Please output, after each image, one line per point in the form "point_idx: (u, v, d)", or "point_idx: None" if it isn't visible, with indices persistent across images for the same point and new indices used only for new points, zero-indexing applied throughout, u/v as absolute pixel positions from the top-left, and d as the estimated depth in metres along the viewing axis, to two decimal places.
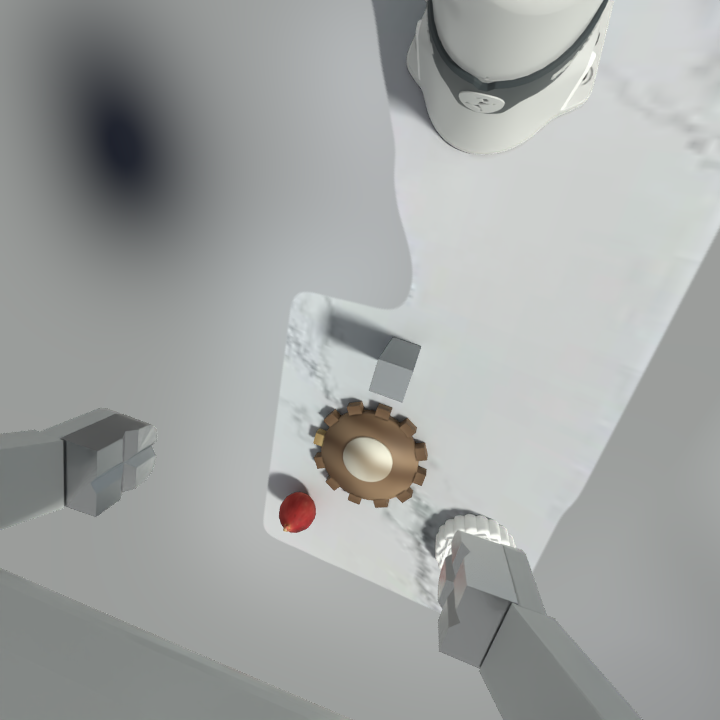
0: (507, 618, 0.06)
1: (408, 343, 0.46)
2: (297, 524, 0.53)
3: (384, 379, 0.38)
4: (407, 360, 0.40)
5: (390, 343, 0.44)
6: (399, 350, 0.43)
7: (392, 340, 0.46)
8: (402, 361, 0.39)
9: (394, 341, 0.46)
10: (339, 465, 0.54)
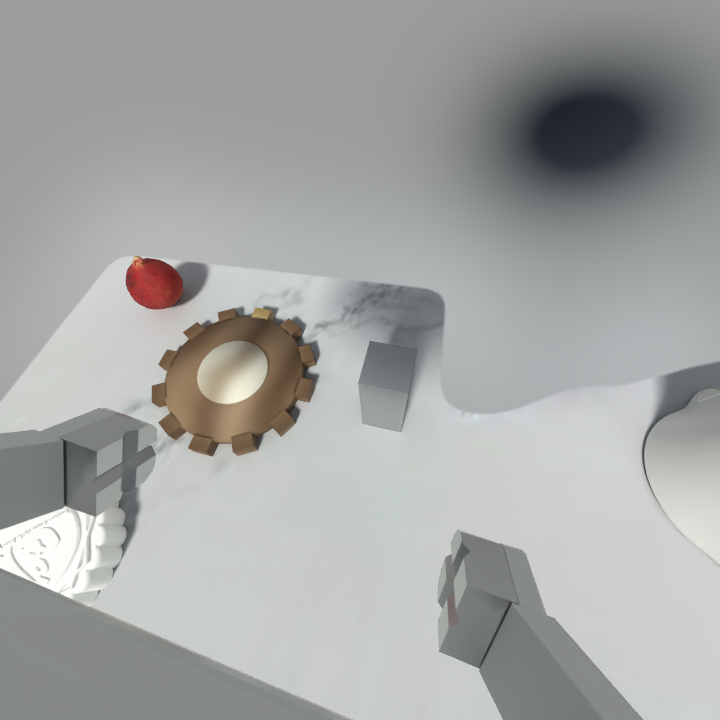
0: (507, 618, 0.06)
1: None
2: (141, 275, 0.38)
3: (390, 358, 0.28)
4: None
5: None
6: None
7: None
8: None
9: None
10: (223, 337, 0.40)
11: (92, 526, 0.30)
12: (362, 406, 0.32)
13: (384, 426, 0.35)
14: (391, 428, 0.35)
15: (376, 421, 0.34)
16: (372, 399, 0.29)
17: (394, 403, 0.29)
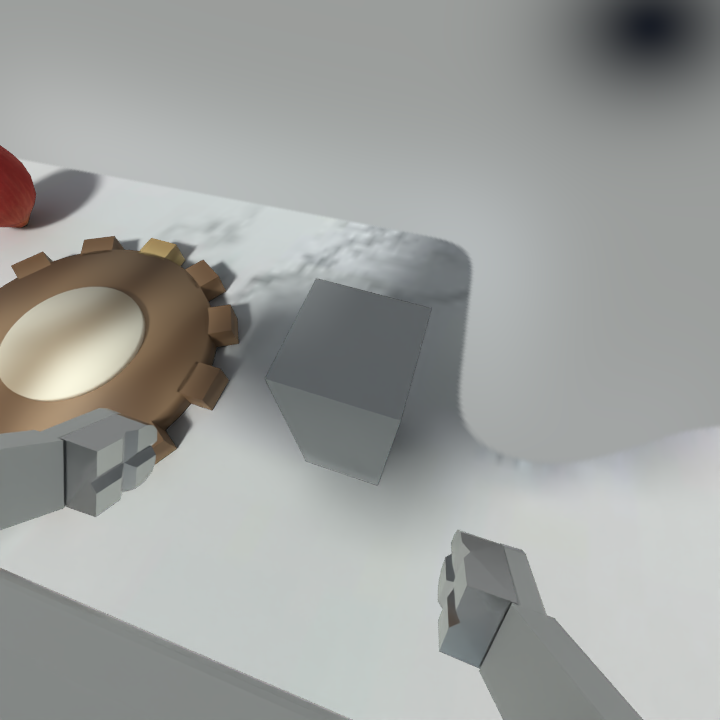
0: (507, 618, 0.06)
1: None
2: None
3: (360, 323, 0.11)
4: None
5: None
6: None
7: None
8: None
9: None
10: (78, 280, 0.22)
11: None
12: (294, 434, 0.14)
13: (346, 472, 0.18)
14: (360, 478, 0.18)
15: (330, 462, 0.17)
16: (311, 422, 0.12)
17: (362, 437, 0.12)
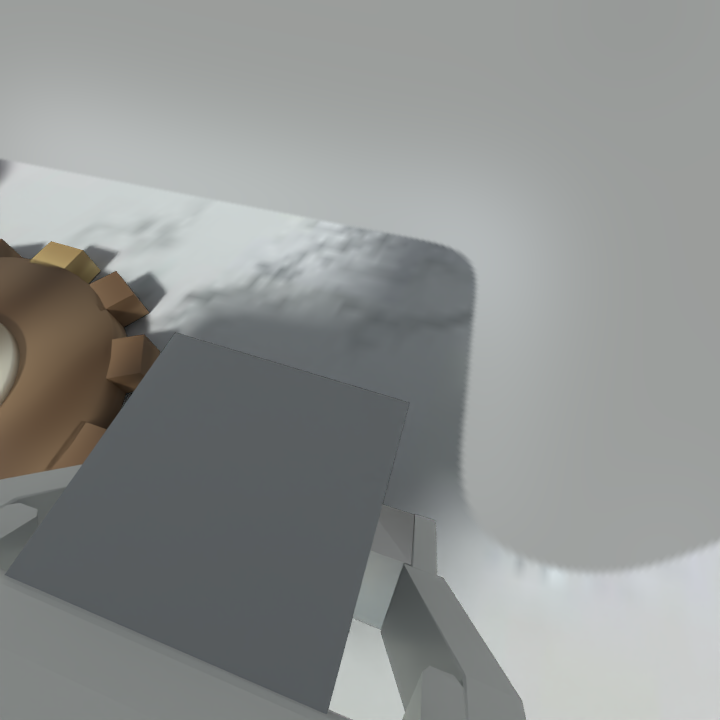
0: (400, 579, 0.07)
1: None
2: None
3: (249, 444, 0.05)
4: None
5: None
6: None
7: None
8: None
9: None
10: None
11: None
12: None
13: None
14: None
15: None
16: None
17: None
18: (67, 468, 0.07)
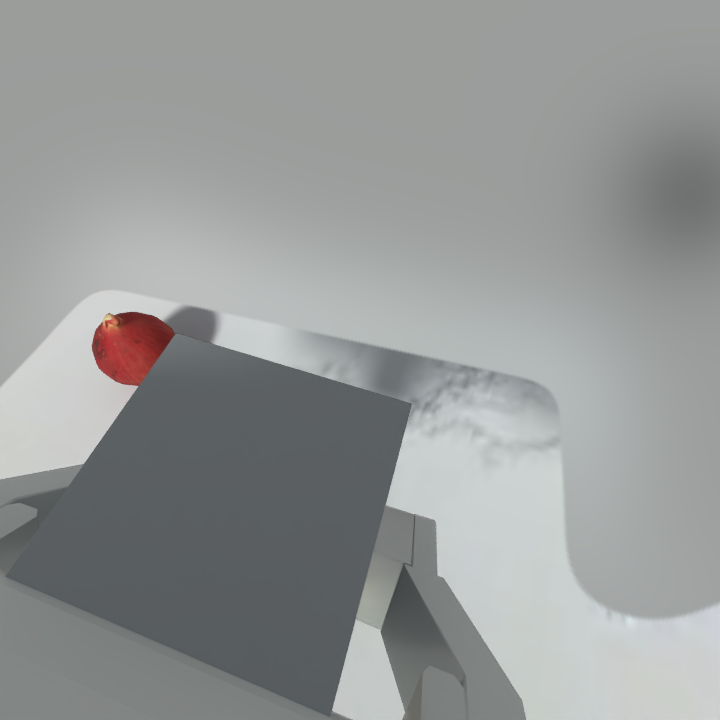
0: (400, 579, 0.07)
1: None
2: (115, 343, 0.25)
3: (250, 446, 0.05)
4: None
5: None
6: None
7: None
8: None
9: None
10: None
11: None
12: None
13: None
14: None
15: None
16: None
17: None
18: (67, 468, 0.07)
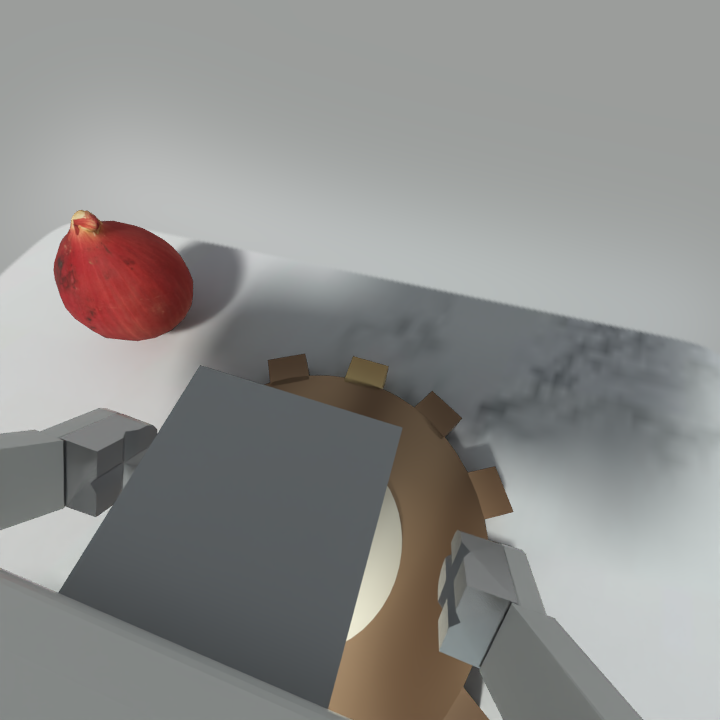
0: (507, 618, 0.06)
1: None
2: (91, 261, 0.15)
3: (266, 464, 0.06)
4: None
5: None
6: None
7: None
8: None
9: None
10: None
11: None
12: None
13: None
14: None
15: None
16: None
17: None
18: None
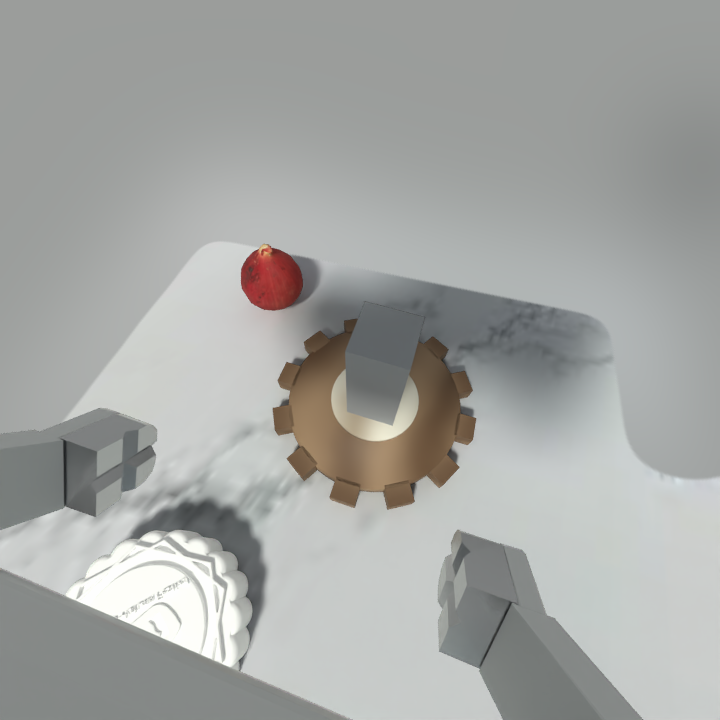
0: (507, 618, 0.06)
1: None
2: (267, 268, 0.31)
3: (389, 325, 0.22)
4: None
5: None
6: None
7: None
8: None
9: None
10: None
11: (222, 605, 0.22)
12: (347, 388, 0.25)
13: (373, 416, 0.28)
14: (382, 420, 0.29)
15: (364, 409, 0.28)
16: (361, 377, 0.23)
17: (389, 384, 0.22)
18: None
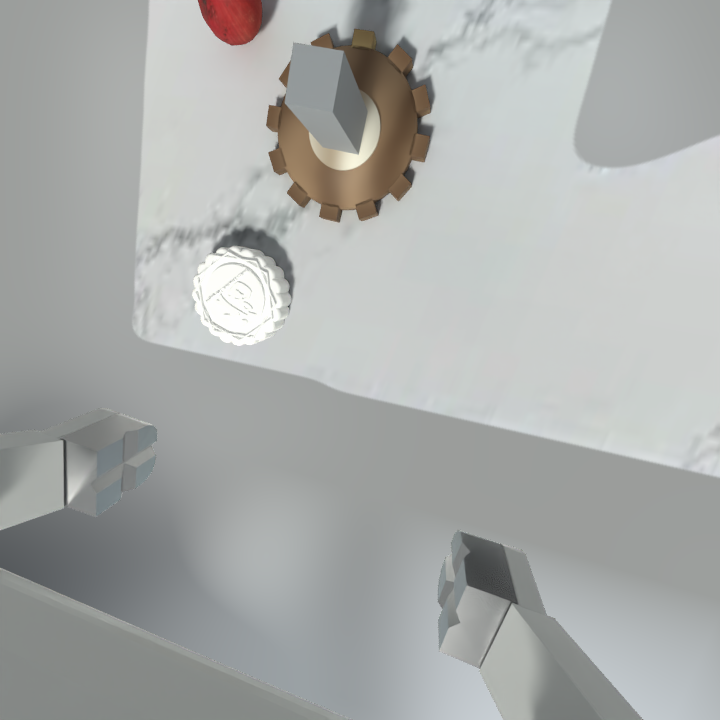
0: (507, 618, 0.06)
1: (361, 134, 0.35)
2: None
3: (314, 67, 0.26)
4: (344, 113, 0.29)
5: (361, 98, 0.32)
6: (354, 109, 0.31)
7: (364, 106, 0.34)
8: (342, 101, 0.28)
9: (363, 108, 0.34)
10: None
11: (269, 280, 0.40)
12: (308, 129, 0.32)
13: (341, 149, 0.36)
14: (349, 151, 0.36)
15: (331, 143, 0.35)
16: (309, 120, 0.30)
17: (329, 123, 0.29)
18: None
